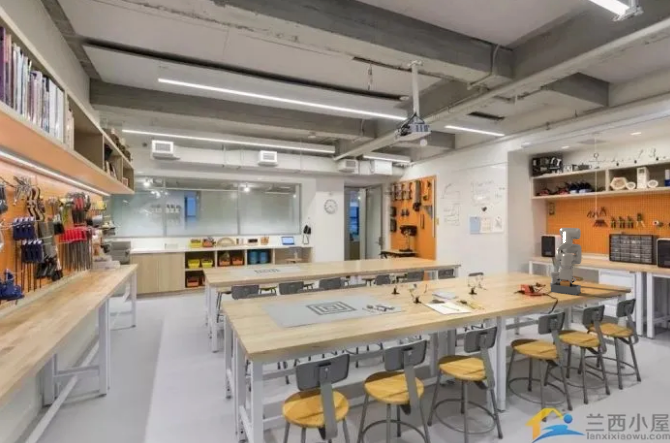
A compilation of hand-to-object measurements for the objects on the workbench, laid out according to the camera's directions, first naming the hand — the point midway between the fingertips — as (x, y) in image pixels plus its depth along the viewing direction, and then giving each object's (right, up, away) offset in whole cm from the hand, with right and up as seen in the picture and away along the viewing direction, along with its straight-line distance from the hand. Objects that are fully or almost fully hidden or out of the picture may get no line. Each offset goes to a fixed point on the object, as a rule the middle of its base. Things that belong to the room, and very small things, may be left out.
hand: (565, 286), depth 319 cm
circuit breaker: (+7, -5, +21) cm, 23 cm away
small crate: (0, -1, 0) cm, 1 cm away
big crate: (0, -5, 0) cm, 5 cm away
